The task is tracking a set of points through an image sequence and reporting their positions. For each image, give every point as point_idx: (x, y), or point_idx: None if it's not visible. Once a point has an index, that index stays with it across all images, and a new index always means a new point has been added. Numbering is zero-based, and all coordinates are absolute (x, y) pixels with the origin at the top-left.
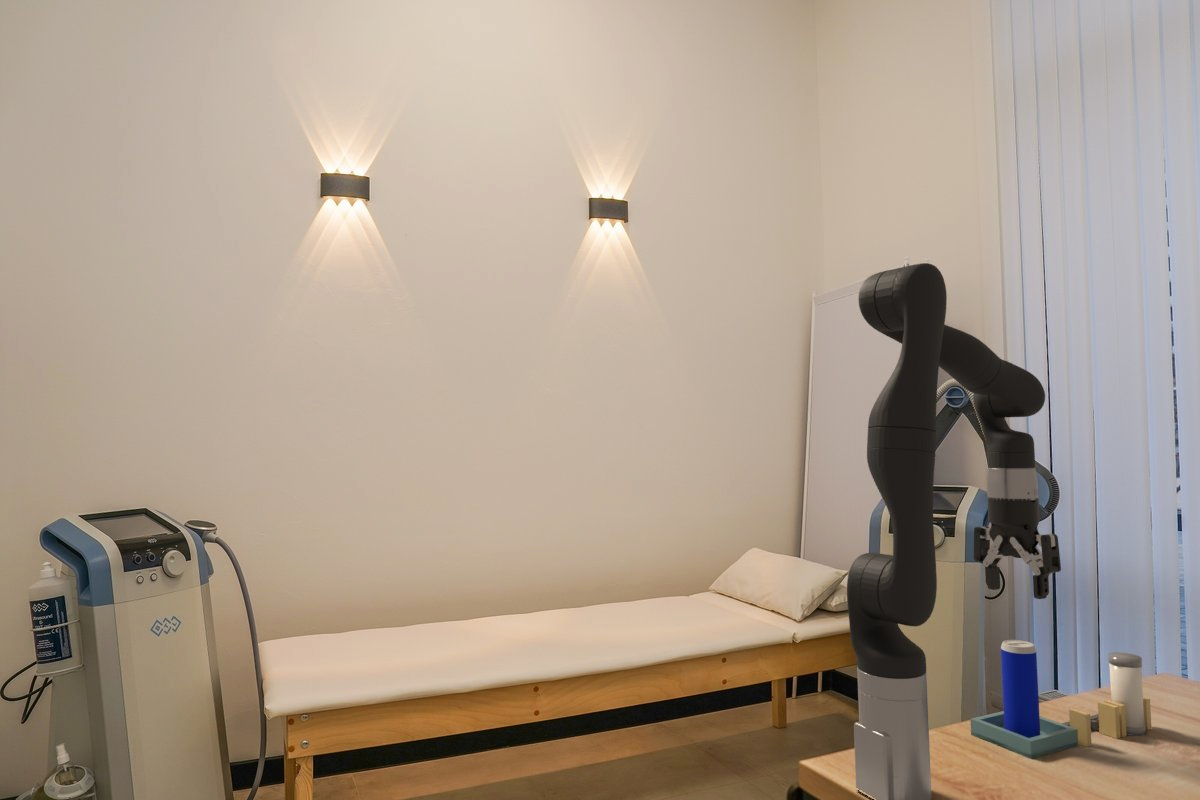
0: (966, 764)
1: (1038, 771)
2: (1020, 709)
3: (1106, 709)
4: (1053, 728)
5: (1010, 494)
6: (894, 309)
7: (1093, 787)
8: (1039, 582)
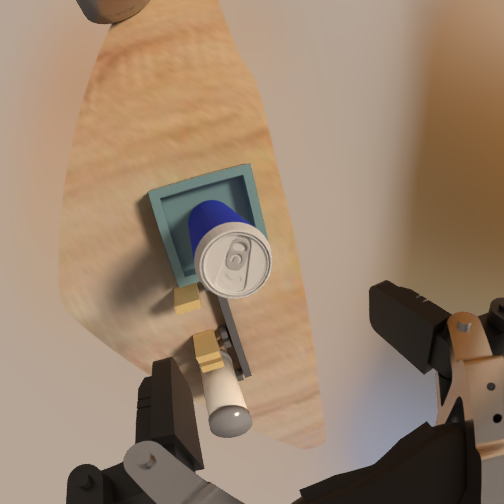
0: (155, 96)
1: (114, 174)
2: (195, 215)
3: (206, 350)
4: None
5: None
6: None
7: (68, 211)
8: (150, 419)
